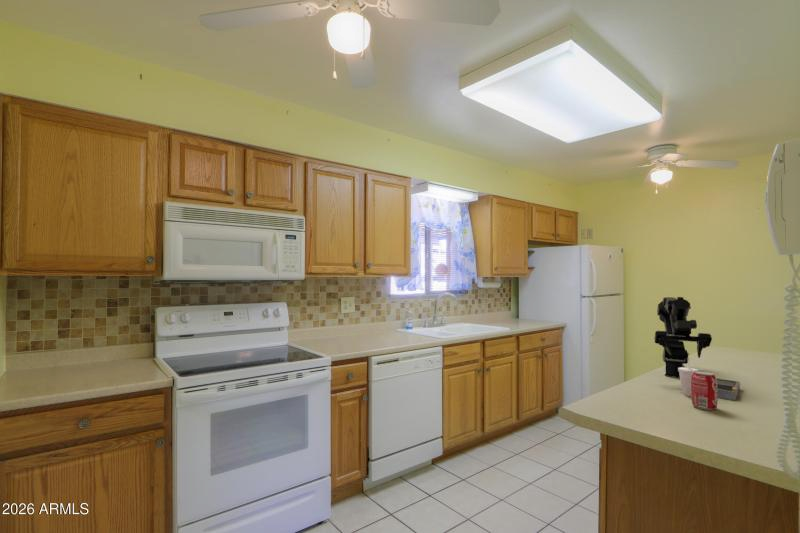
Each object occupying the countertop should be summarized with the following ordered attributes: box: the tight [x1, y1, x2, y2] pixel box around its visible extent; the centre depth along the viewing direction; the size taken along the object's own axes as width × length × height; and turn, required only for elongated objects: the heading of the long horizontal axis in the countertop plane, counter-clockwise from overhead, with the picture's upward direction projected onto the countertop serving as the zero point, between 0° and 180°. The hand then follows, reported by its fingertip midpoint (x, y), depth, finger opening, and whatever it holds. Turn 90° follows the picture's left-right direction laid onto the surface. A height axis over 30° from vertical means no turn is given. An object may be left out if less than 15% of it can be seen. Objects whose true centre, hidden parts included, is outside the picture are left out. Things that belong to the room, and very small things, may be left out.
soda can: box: [690, 369, 718, 411], centre depth 135 cm, size 7×7×12 cm
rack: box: [716, 377, 741, 402], centre depth 154 cm, size 11×20×3 cm, turn 136°
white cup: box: [678, 357, 698, 397], centre depth 150 cm, size 6×6×14 cm
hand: (685, 356), depth 157 cm, fingers open, 9 cm apart
